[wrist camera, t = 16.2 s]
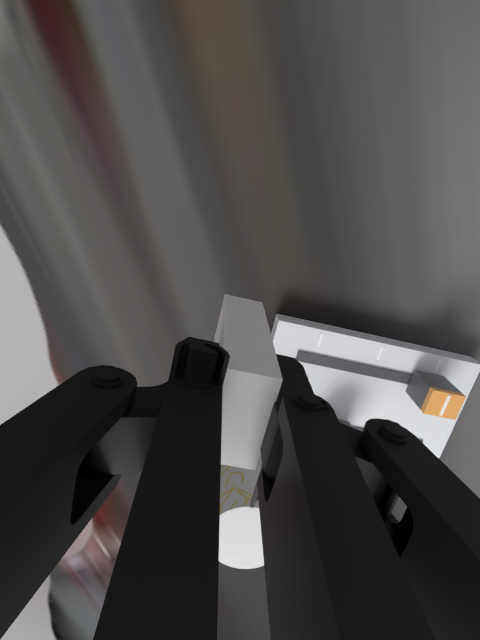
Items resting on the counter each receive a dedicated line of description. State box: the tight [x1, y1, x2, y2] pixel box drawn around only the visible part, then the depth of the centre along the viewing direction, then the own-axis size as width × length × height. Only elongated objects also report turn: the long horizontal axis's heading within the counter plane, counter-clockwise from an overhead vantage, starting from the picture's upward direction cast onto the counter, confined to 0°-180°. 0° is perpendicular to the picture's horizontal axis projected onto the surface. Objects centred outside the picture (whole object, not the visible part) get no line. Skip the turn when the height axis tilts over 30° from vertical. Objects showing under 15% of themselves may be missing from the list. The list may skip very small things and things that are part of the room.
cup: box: [219, 454, 264, 569], centre depth 48 cm, size 8×8×12 cm
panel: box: [271, 314, 480, 458], centre depth 50 cm, size 15×24×3 cm, turn 77°
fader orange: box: [405, 370, 466, 420], centre depth 45 cm, size 3×4×5 cm
